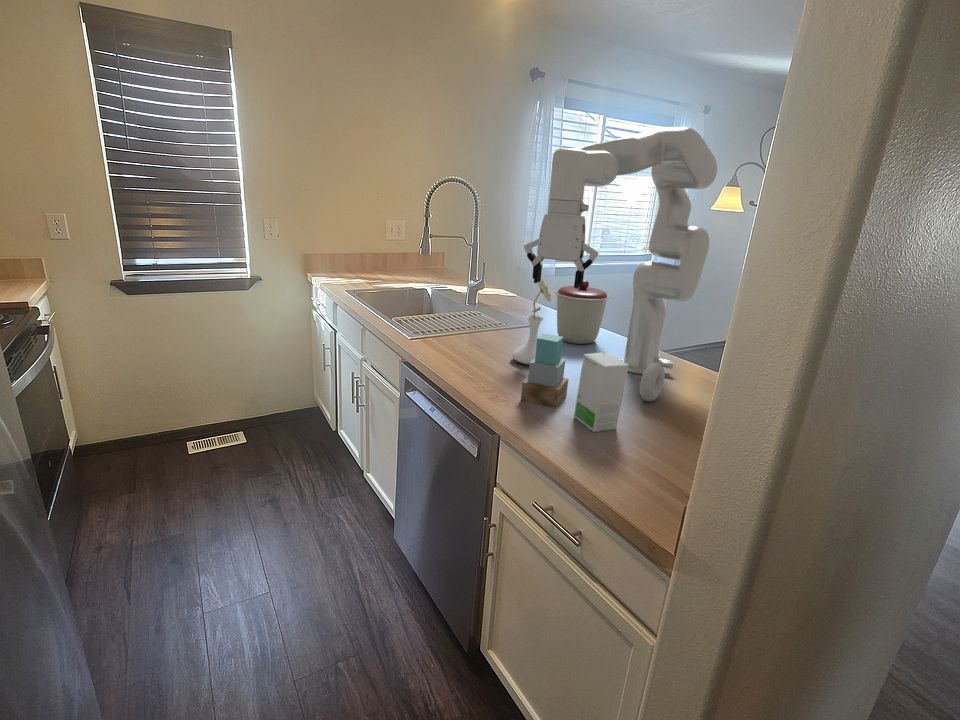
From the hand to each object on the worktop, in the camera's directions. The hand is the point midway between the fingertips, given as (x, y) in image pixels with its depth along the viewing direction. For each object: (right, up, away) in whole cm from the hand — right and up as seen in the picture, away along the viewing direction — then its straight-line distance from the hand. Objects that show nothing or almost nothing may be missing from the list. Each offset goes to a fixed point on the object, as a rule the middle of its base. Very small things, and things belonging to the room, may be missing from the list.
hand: (556, 284), depth 121 cm
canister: (+16, -11, +60) cm, 63 cm away
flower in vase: (-3, -18, +35) cm, 39 cm away
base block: (-2, -27, +8) cm, 29 cm away
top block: (-2, -23, +7) cm, 24 cm away
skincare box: (+8, -32, -4) cm, 33 cm away
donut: (+25, -28, +11) cm, 39 cm away
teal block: (-1, -18, +5) cm, 19 cm away
